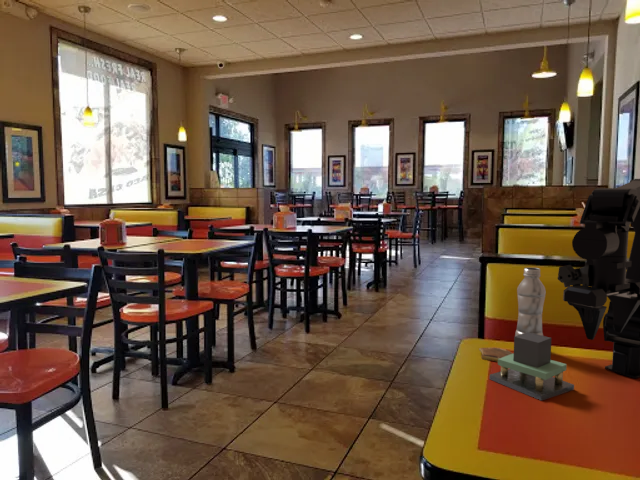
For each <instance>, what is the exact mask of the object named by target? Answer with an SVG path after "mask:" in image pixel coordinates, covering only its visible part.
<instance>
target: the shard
mask: <svg viewBox="0 0 640 480" xmlns="http://www.w3.org/2000/svg"><path fill="white" fill-rule="evenodd" d="M478 351H479V352H480V353H481V355H480V357H481V359H482V360H485V361H492V362H497V363H498V359H500V358H502V357H505V356H508V355H510V354H513V353H514V352H512V351H510V350H508V349H505V348H500V347H480V348H478Z"/></svg>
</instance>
